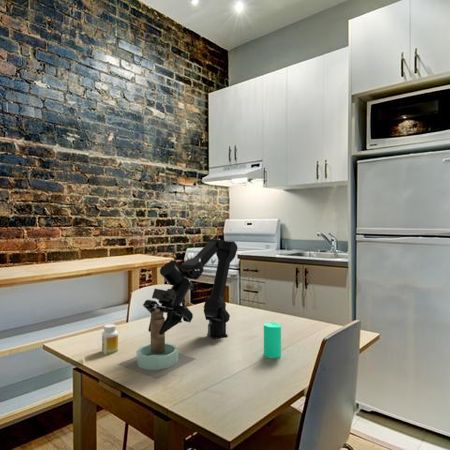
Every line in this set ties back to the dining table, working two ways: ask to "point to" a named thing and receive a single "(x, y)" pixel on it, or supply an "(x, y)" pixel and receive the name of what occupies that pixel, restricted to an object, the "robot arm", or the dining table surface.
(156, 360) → the bowl
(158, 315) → the mill
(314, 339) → the dining table surface
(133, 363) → the mat
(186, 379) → the dining table surface
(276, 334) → the candle
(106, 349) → the supplement bottle
